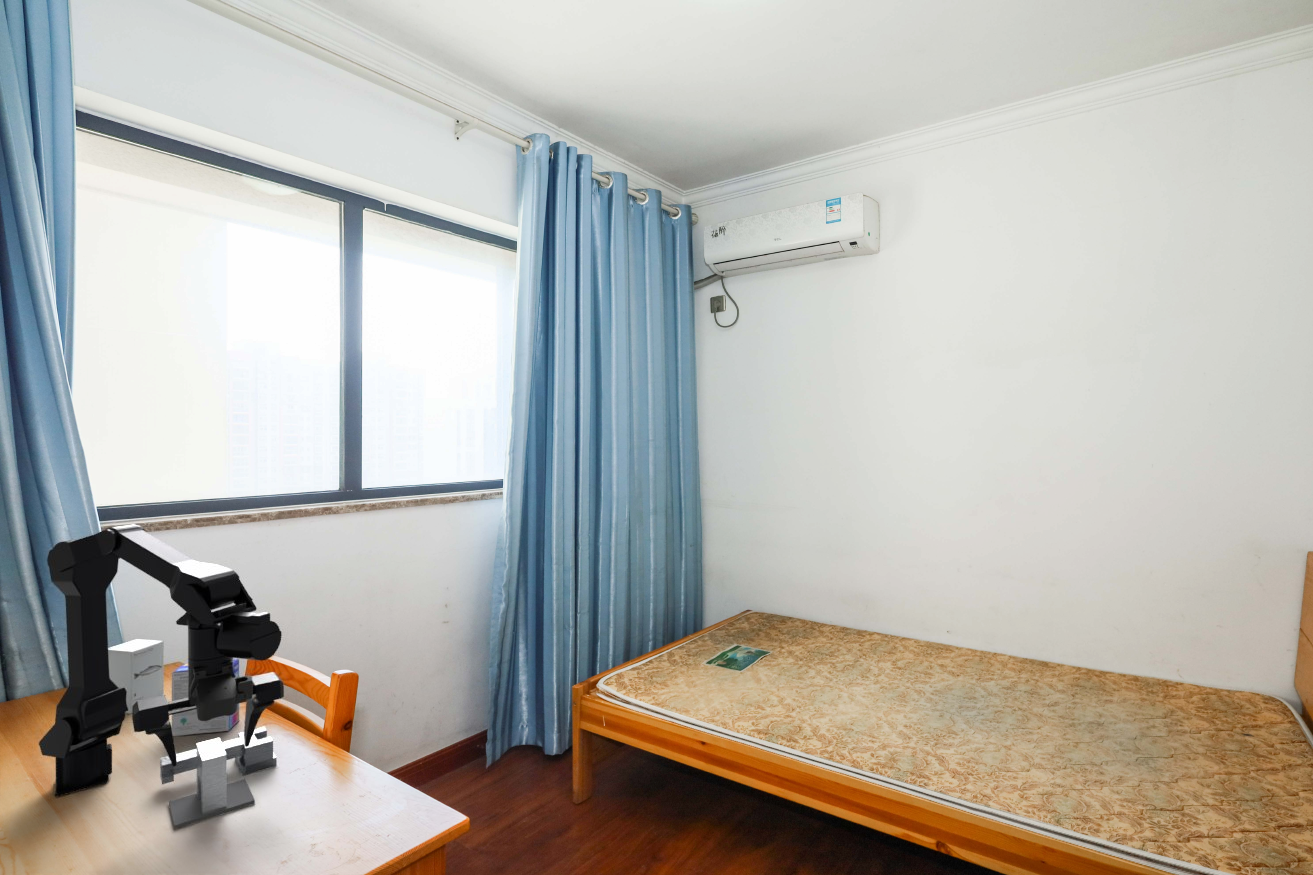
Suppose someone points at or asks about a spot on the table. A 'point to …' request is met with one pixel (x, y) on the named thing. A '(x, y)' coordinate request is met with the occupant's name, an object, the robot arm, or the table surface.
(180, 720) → the ink cartridge box
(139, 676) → the supplement box
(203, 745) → the brushed aluminum pillar
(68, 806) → the table surface
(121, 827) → the table surface
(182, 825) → the mat
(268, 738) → the vise
